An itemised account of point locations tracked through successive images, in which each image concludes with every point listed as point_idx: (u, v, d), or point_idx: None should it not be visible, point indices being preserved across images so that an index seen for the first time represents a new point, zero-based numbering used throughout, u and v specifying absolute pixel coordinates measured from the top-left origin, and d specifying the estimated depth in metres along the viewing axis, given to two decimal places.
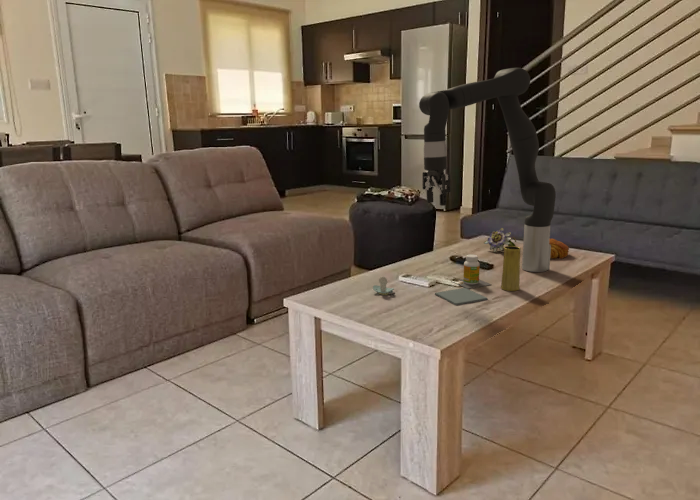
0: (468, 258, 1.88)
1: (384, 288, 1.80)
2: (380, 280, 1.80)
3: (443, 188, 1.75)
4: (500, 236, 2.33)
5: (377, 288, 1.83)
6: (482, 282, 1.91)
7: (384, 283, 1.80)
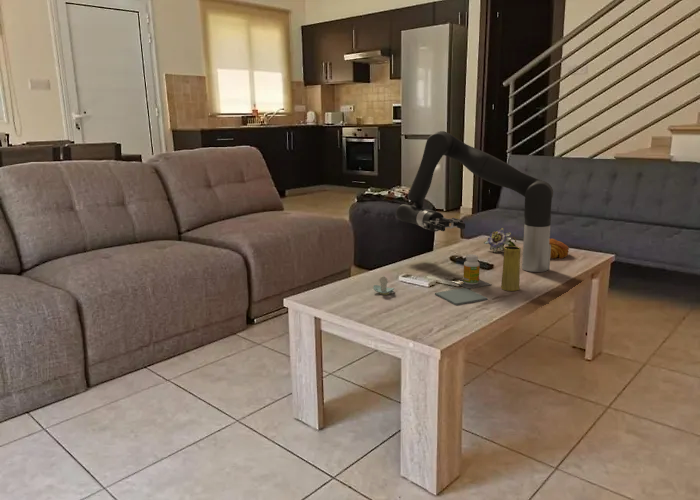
0: (468, 258, 1.88)
1: (384, 288, 1.81)
2: (380, 280, 1.80)
3: None
4: (500, 236, 2.33)
5: (377, 288, 1.83)
6: (482, 282, 1.91)
7: (384, 283, 1.80)
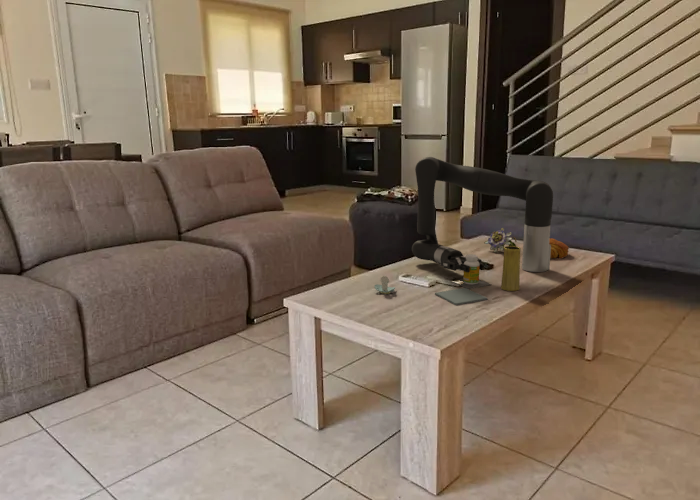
0: (468, 258, 1.87)
1: (386, 287, 1.81)
2: (382, 279, 1.81)
3: (452, 269, 1.91)
4: (501, 236, 2.33)
5: (379, 287, 1.84)
6: (482, 282, 1.91)
7: (386, 282, 1.81)
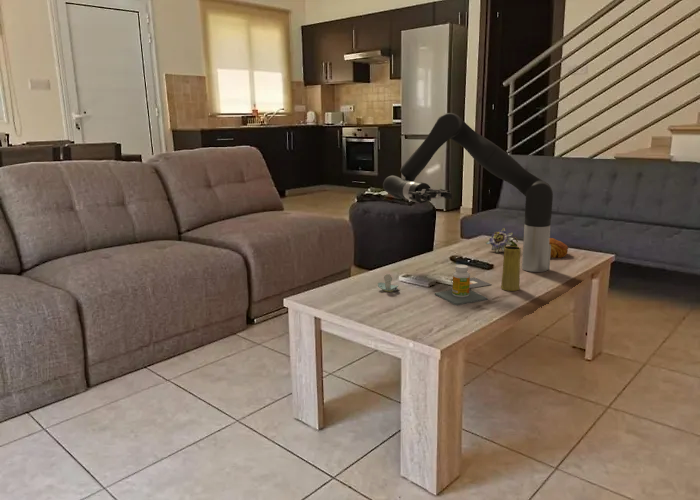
0: (457, 269, 1.73)
1: (389, 285, 1.83)
2: (385, 277, 1.83)
3: (415, 199, 1.91)
4: (502, 236, 2.32)
5: (382, 285, 1.86)
6: (482, 282, 1.91)
7: (389, 280, 1.83)
